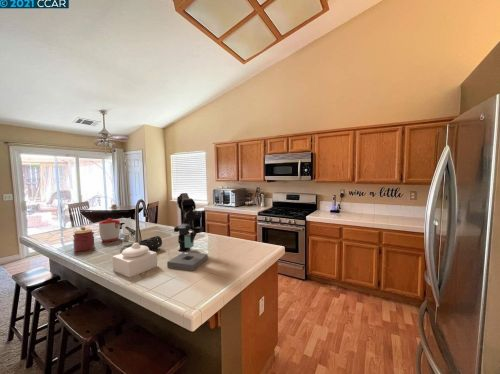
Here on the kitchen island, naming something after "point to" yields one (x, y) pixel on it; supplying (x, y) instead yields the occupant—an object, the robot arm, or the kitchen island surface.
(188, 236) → the block
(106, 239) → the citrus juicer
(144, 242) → the muzzle brake
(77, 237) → the canister
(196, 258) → the outlet plate
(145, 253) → the butter dish
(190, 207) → the robot arm
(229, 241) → the kitchen island surface
